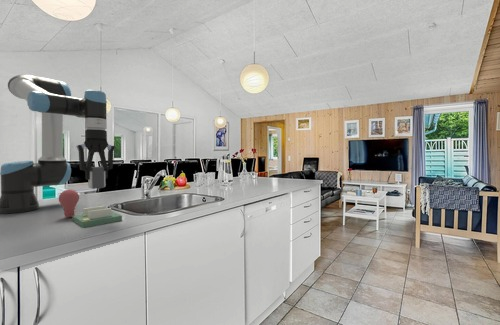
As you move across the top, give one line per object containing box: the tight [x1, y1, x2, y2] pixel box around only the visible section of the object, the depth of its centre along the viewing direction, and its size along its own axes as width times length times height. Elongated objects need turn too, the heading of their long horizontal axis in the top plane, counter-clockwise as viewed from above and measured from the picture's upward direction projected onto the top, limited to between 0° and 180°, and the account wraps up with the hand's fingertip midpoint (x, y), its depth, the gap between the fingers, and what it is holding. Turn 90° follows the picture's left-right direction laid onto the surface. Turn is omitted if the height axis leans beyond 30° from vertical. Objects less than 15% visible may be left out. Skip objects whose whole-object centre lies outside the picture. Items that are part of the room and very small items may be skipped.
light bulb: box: [58, 189, 80, 218], centre depth 110 cm, size 7×7×12 cm
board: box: [72, 205, 123, 228], centre depth 105 cm, size 14×14×5 cm
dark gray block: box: [90, 166, 105, 190], centre depth 105 cm, size 4×4×8 cm
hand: (97, 187), depth 105 cm, fingers closed on dark gray block, 4 cm apart
